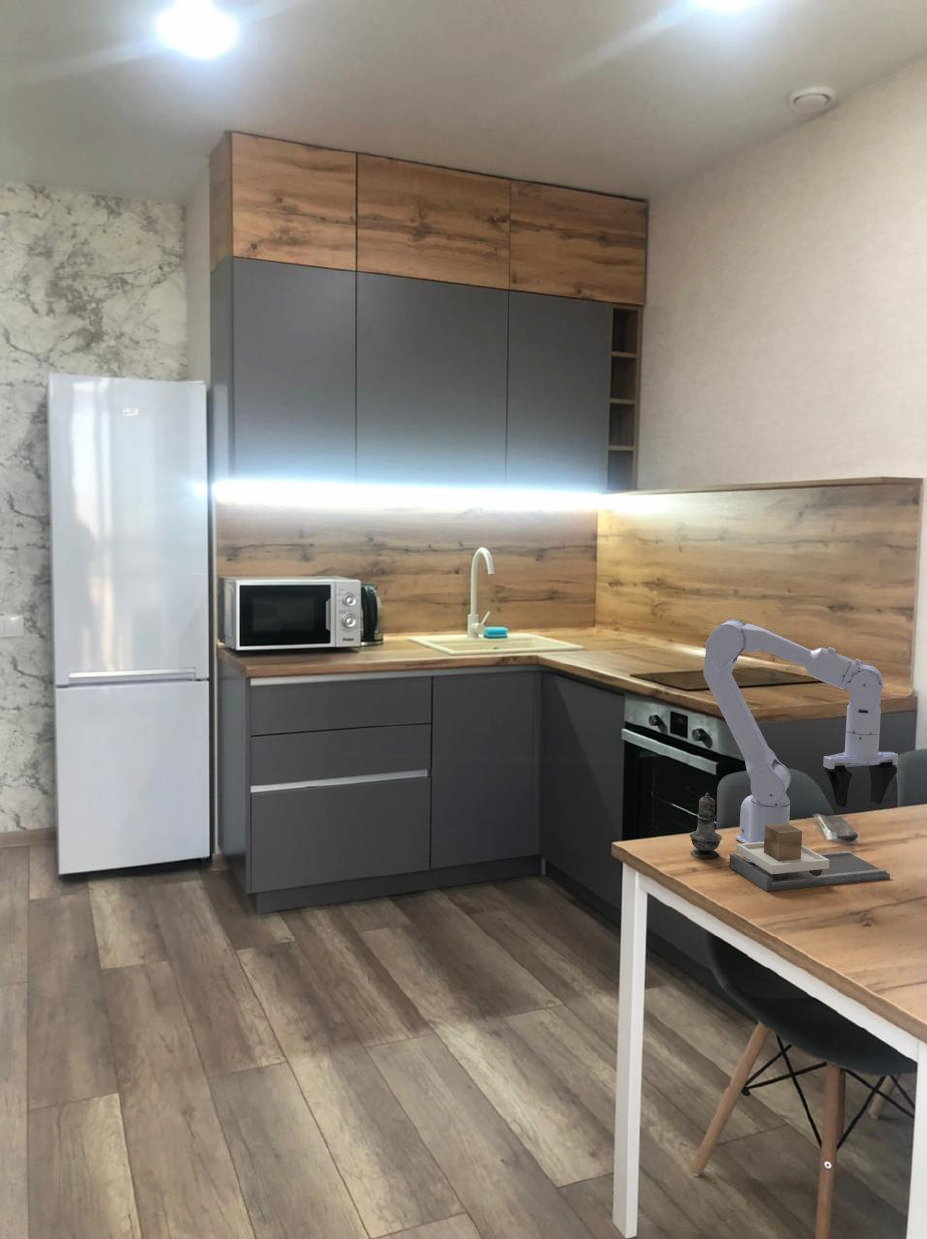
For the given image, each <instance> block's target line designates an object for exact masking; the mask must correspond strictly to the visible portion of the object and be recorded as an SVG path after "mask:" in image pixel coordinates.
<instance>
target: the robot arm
mask: <svg viewBox="0 0 927 1239" xmlns="http://www.w3.org/2000/svg"><path fill="white" fill-rule="evenodd" d="M704 645H705V646H704V648H705V654H704V664H703V678H704V681H705V682H706V684H707V686H708V688H709V690H710V693H711V694H712V695H713V698H714V700H715V703H716V704H717V706H718V708H719V710H720V712H721V714H722V717H723V718H724V719H725V720H724V721H725V722H726V724H727V726H728V728H729V730H730V732H731V735H732V737H733V738H734V741H735V743H736V745H737V747H738V748H739V751H740V752H741V754H742V756H743V759H744V762H745V768H746V773H747V775H748V777H749V779H750V792H751V794H750V795H749V796H746V797H745V798H744V799H743V801H742V803H741V805H740V818H739V822H740V823H739V835H735V837H734V838H735V840H737V841H739V842H740V843H741V844H744V843H755V842H764V836H765V825H774V824H786V823H788V824H789V825H790V814H791V813H790V809H791V799H790V798H789V796H788V795H787V793H786V791H787V789H789V787H790V784H791V782H792V775H791V773H790V771H789V770H790V769H789V768H787V766H786V765H784V764H783V763H782V762H781V761H780V760H779V759H778V757H777V755H776V754H775V752H774V751H773V750H772V749H771V748H770V747H769V745H768V743H767V741H766V739H765V737H764V736H763V733H762V731H761V729H760V727H759V725H758V724H757V722H756V720H755V718H754V715H753V714H752V711H751V710H750V707H749V705H748V703H747V701H746V700H745V697H744V695H743V694H742V690H741V689H740V687H739V686H738V683H737V682H736V680H735V677H734V676H733V671H734V668H735V665H736V663H737V661H738V658H739V657H740V655H741V654H742V652H745V654H749V653H756V652H766V653H768V654H771V655H773V656H777V657H779V658H780V659H784V660H787V661H790V662H792V663H795V664H797V665H800V666H803V667H804V668H805V670H806V672H807V675H808V676H809V677H811V678H813V679H816V680H818V681H821V682H823V683H826V684H827V685H830V686H832V687H835V688H837V689H840V690H847V692H848V693H849V697H848V705H847V706H846V707H847V709H846V721H845V722H846V724H845V743H844V751H843V752H841V753H837V754H832V755H827V756H826V755H825V756H823V769H824V772H825V774H826V775H827V776H826V777H827V778H828V780H829V782H830V785H831V788H832V792H833V797H834V800H835V801H834V802H835V805H836V806H839V807H841V808H847V804H848V794H849V787H850V783H851V779H852V777H853V775H854V773H852V772H850V771H848V769H847V768H849V767H850V768H851V767H862V766H868V769H869V775H870V776H869V777H870V801H871V802H872V803H874V804H877V805H882V802H883V800H884V797H885V794H886V791H887V789H888V787H889V786H890V783H891V781H892V780H893V778H894V777H895V776H896V774H898V773H897V772H898V766H897V767H896V766H894V765H898V764H899V754H898V753H895V752H893V751H880V750H879V748H880V747H879V746H880V735H881V734H880V731H881V729H880V728H881V717H882V716H881V715H882V712H881V711H882V709H881V702H882V698H881V694H882V692H883V688H884V686H883V684H884V679H883V675H882V673H881V672H880V671H879V669H878V668H876V667H875V666H873V665H872V664H870V663H862V660H860V659H858V658H856V659H854V660H853V659H851V658H849V657H846V656H844V655H842V654H840V653H836V648H833V647H831V646H829V647H828V648H824V647H819V648H816V649H813V650H811V649H809V648H807V647H805V646H802V645H800V644H798V643H796V642H795V641H792V640H789V639H787V638H785V637H783V636H781V635H779V634H776V633H774V632H772V631H769V630H767V629H765V628H762V627H760V626H757V625H755V624H751V623H746V624H745V622H744V621H743V620H738V619H728V620H726V621H724V622H723V623H722V624H719V625H717V626H716V627H714V629H713V630H712V631H711V633H710V634H709V636H708V638H707V640H706V642H705V644H704Z"/></svg>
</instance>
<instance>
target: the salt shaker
mask: <svg viewBox="0 0 927 1239" xmlns="http://www.w3.org/2000/svg"><path fill="white" fill-rule="evenodd" d="M709 795H710V793H709V792H708V791H707V792H706V793H705V795H704V796H701V797H700V799H699V801H698V802H699V803H698V813H697V814H696V817H697V828H696V831H695V830H694V831H692V832H690V833H689V837H690V841H691V844H692V846H693V847H694V848H695V849H694V848H693V850H691V851H690V855H691V856H692V857H693V858H696V859H701V860H717V859H718V858H720V853H719V852H718V851H716V849H717V848H719V846H720V843H721V841H722V838H723V836H722V835H720V833H718V832H716V831H715V830H716V829H715V819H717V815H715V808H716V806H715V805H716V801H715V799H714V798H713V797H711V796H709Z"/></svg>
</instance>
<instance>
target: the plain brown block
mask: <svg viewBox="0 0 927 1239" xmlns="http://www.w3.org/2000/svg"><path fill="white" fill-rule="evenodd" d="M802 842H803V831H802V830H801V829H799V828H797V827H795V826H793V825H792V824H790V823H789V824H788V823H786V824H774V825H765V836H764V853H765V854H767V855H769V856H770V857H772V858H774V859H775V860H777V861H786V860H797V859H801V846H802V845H803V843H802Z"/></svg>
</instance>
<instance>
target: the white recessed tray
mask: <svg viewBox="0 0 927 1239" xmlns="http://www.w3.org/2000/svg"><path fill="white" fill-rule="evenodd" d="M736 853H737V854H739V855H741V856H742V857H743V859H745V860H746V861H748V860H749V861H752V862H753V863H755V864H756V865H758V866H760V867H761V868H763V869H764V870H766V871H767V872H769V873H771V874H773V875H774V877H776V878H777V879H779V880H783V879H784V878H785V877H786V875H787V873H789V872H799V871H809V872H810V873H811V874H813V875H814V876H819V875H820V874H821V873H822V869H829V861H830V860H829V859H827V858H825V857H823V856H821V855H820V854H821V853H817V852H816V851H814V850H812V849H810V848H809V847H807V846H804V844H802V846H801V859H797V860H786V861H777V860H775V859H774V858H772V857H770V856H769V855H767V854H765V853H764V842H755V843H737V844H736Z"/></svg>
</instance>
